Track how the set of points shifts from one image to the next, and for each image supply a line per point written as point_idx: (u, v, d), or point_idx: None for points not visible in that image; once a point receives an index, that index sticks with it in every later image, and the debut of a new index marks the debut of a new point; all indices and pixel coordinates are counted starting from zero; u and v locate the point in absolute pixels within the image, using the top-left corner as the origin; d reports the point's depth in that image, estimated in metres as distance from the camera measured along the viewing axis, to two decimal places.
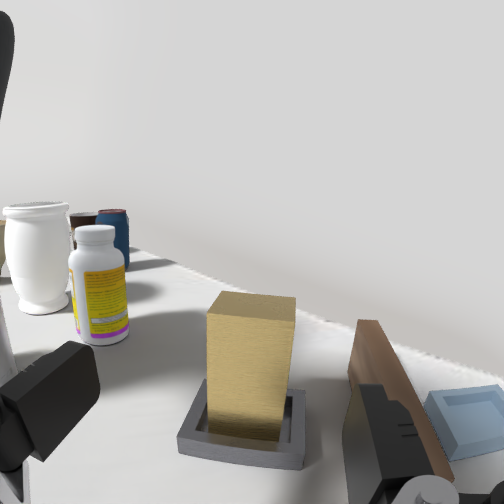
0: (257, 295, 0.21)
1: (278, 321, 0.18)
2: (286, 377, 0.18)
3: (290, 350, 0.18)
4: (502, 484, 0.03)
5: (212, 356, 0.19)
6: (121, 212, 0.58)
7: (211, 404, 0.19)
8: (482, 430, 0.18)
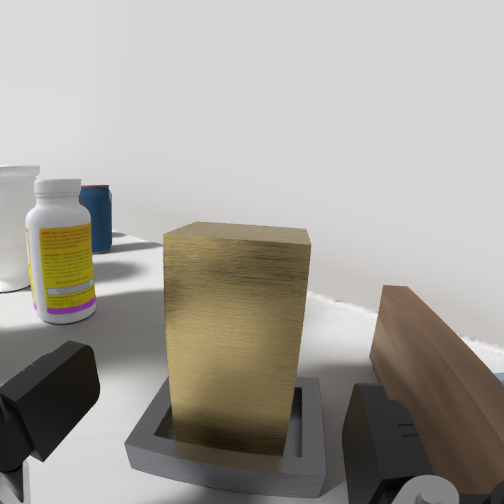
0: (248, 225, 0.14)
1: (283, 243, 0.10)
2: (296, 348, 0.11)
3: (303, 298, 0.11)
4: (501, 485, 0.03)
5: (174, 311, 0.11)
6: (103, 186, 0.51)
7: (176, 395, 0.12)
8: None
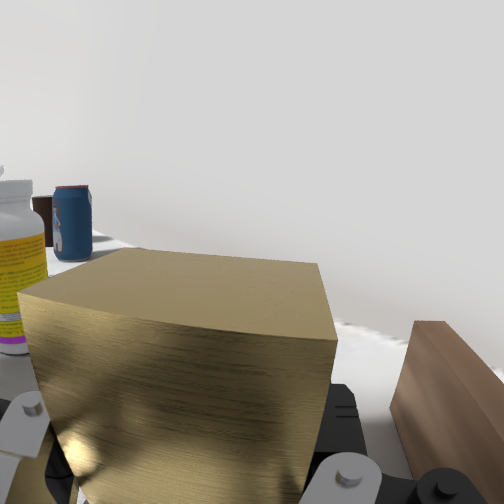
0: (209, 257, 0.08)
1: (263, 337, 0.04)
2: None
3: (309, 444, 0.04)
4: (428, 474, 0.04)
5: (64, 427, 0.05)
6: (81, 187, 0.44)
7: None
8: None
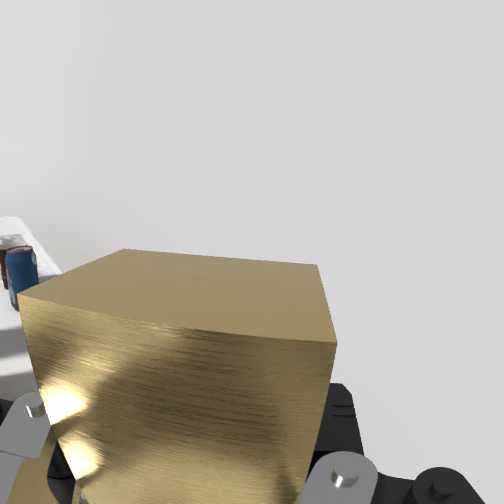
0: (209, 258, 0.08)
1: (263, 339, 0.04)
2: None
3: (309, 446, 0.04)
4: (424, 474, 0.04)
5: (64, 428, 0.05)
6: (25, 251, 0.48)
7: None
8: None
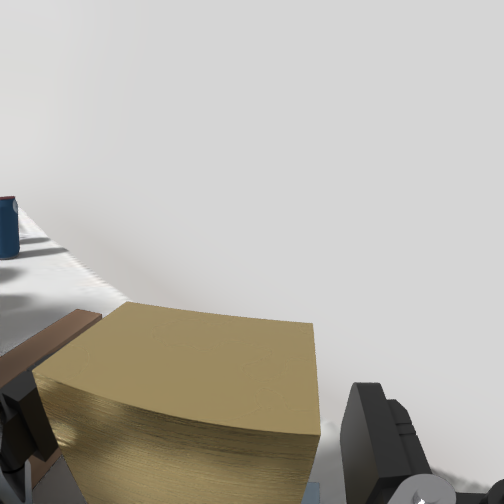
0: (209, 317, 0.08)
1: (257, 431, 0.04)
2: None
3: (296, 501, 0.04)
4: (499, 484, 0.03)
5: (82, 474, 0.05)
6: (7, 198, 0.47)
7: None
8: None
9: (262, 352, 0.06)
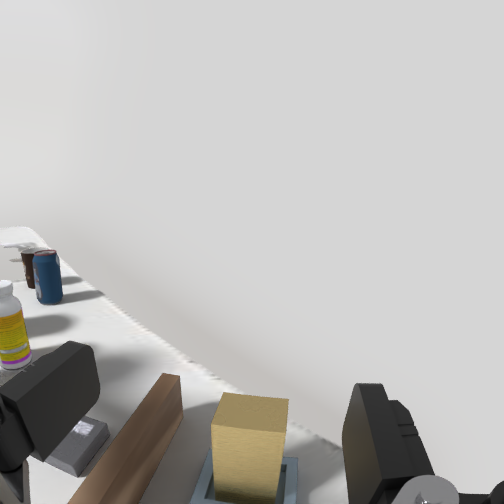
0: (254, 397, 0.23)
1: (272, 432, 0.19)
2: (279, 467, 0.19)
3: (282, 450, 0.19)
4: (502, 484, 0.03)
5: (217, 451, 0.20)
6: (50, 254, 0.62)
7: (217, 481, 0.20)
8: None
9: (272, 411, 0.21)
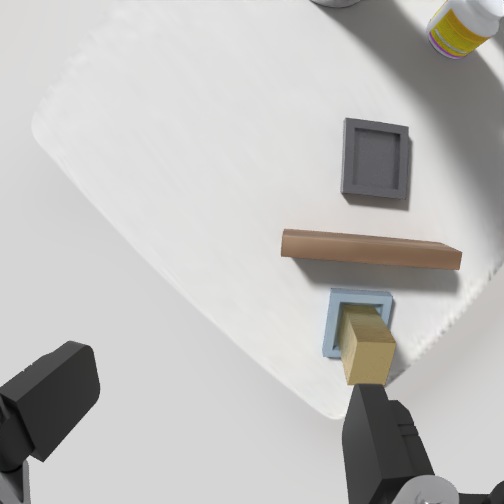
0: (388, 365, 0.28)
1: (349, 377, 0.29)
2: (343, 365, 0.33)
3: (345, 374, 0.31)
4: (502, 485, 0.03)
5: (352, 332, 0.31)
6: None
7: (347, 316, 0.35)
8: None
9: (371, 377, 0.29)
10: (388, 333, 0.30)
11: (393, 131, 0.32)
